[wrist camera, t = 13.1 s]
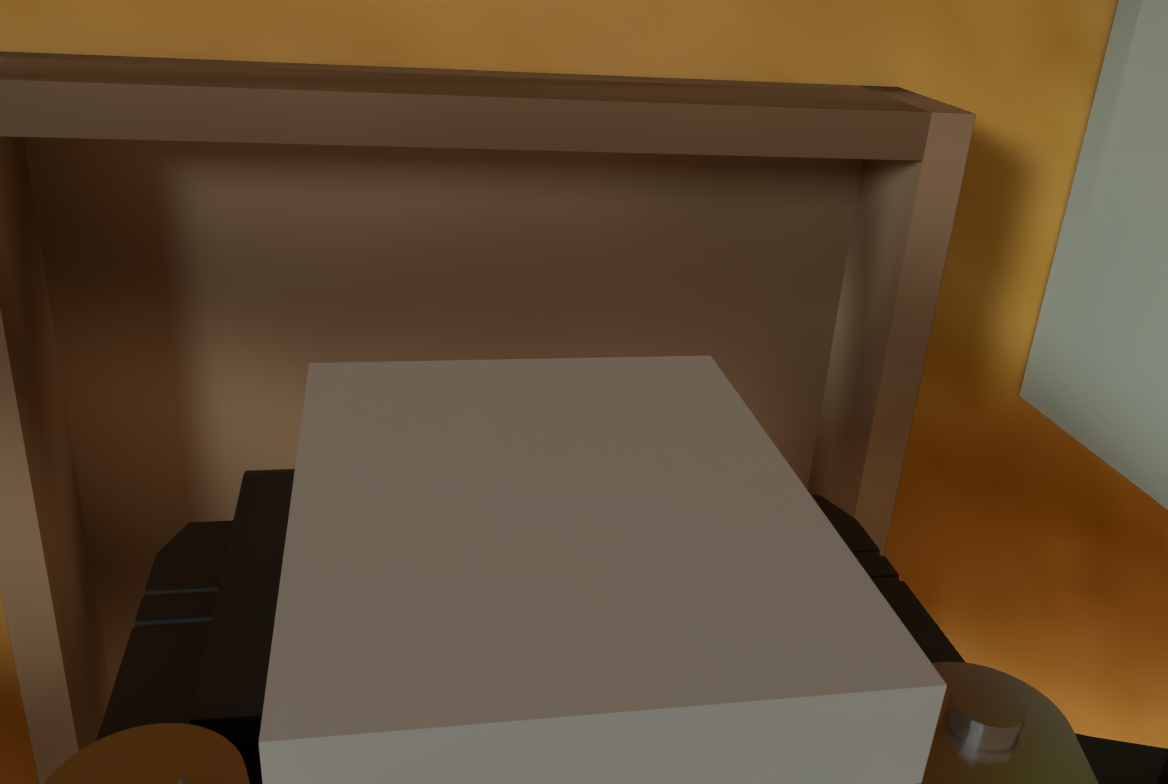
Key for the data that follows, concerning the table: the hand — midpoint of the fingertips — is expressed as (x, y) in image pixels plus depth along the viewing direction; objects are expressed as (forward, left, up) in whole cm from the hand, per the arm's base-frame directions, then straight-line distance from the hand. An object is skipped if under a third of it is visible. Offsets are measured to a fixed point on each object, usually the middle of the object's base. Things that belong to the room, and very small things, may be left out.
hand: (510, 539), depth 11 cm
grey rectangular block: (0, 0, 0) cm, 0 cm away
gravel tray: (+6, 0, -8) cm, 10 cm away
